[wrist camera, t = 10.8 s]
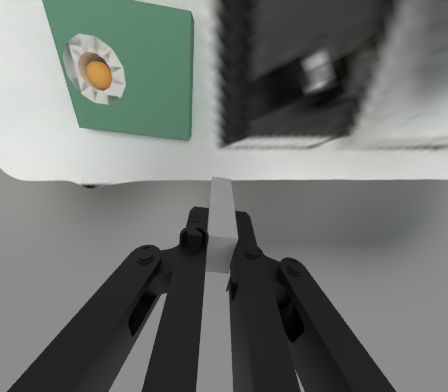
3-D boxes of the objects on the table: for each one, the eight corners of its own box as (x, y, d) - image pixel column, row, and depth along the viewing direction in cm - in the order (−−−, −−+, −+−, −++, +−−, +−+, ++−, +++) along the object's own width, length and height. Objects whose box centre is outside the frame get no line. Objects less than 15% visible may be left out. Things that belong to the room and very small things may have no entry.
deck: (61, -3, 26) (37, -18, 22) (194, 21, 27) (191, 11, 24) (93, 124, 35) (79, 127, 31) (191, 136, 37) (188, 140, 33)
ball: (81, 58, 28) (83, 60, 26) (108, 61, 30) (113, 63, 28) (89, 87, 30) (93, 91, 28) (115, 88, 33) (120, 91, 30)
